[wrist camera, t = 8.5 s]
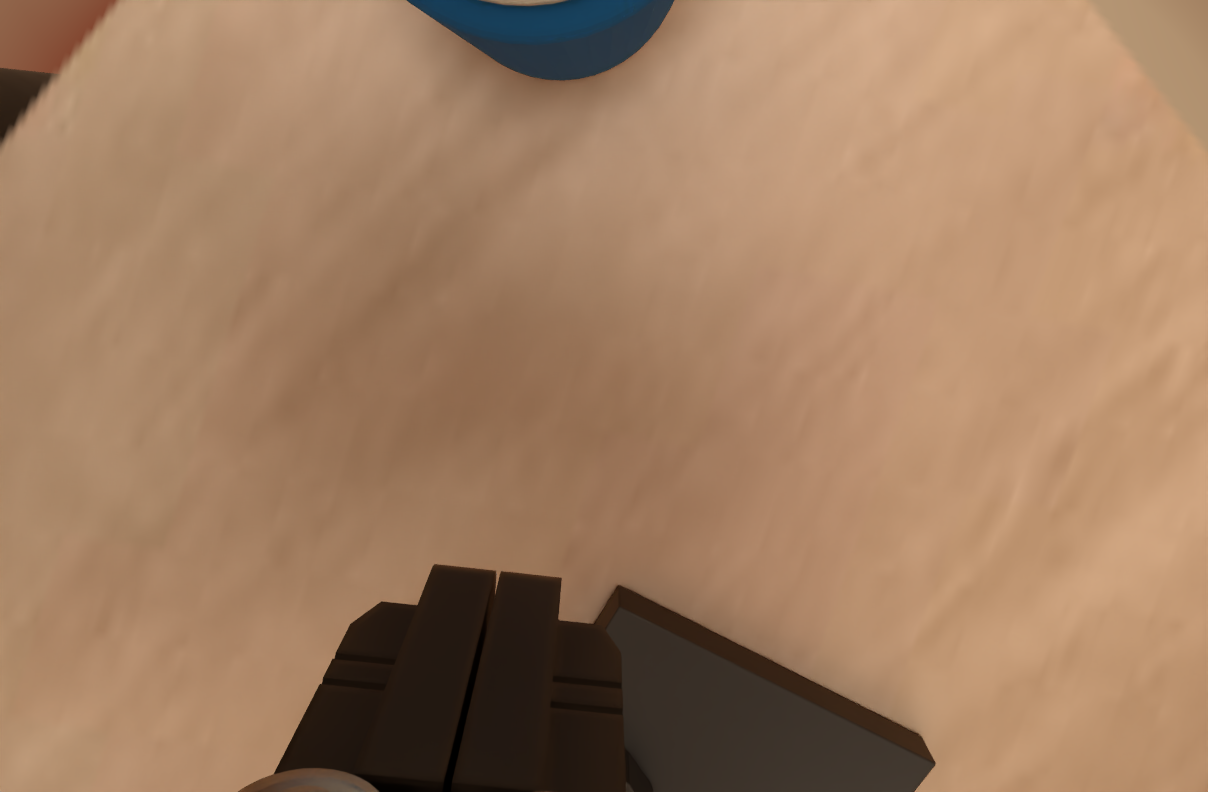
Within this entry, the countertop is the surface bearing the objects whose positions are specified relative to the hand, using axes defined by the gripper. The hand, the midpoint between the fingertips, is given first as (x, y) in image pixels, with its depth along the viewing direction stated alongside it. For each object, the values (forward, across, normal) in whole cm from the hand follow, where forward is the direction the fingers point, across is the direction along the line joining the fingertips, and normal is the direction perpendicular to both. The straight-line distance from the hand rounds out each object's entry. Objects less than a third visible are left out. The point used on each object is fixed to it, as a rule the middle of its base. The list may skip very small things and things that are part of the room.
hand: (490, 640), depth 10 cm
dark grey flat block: (+17, -6, +15) cm, 23 cm away
